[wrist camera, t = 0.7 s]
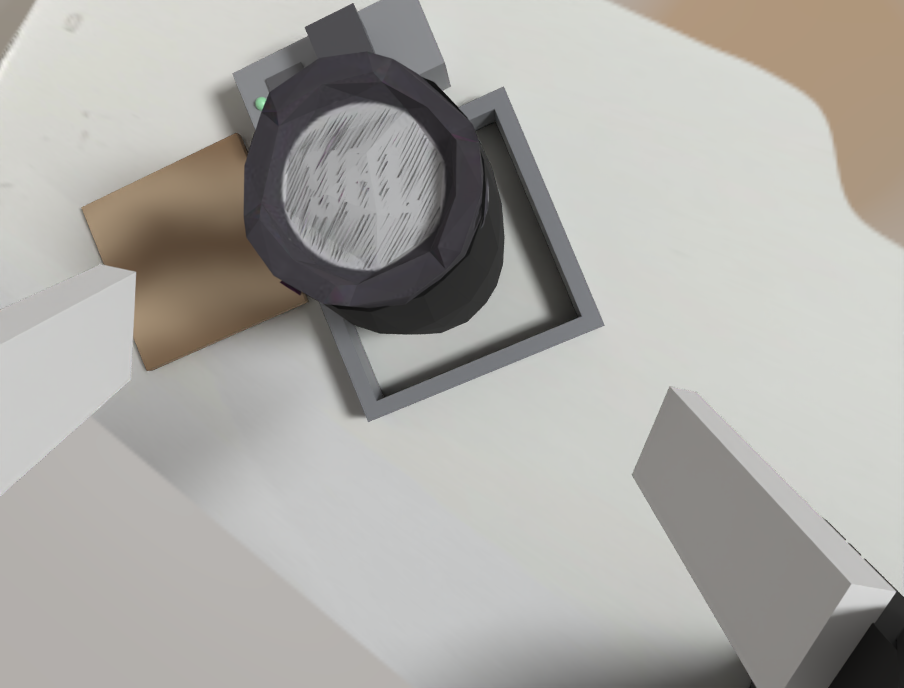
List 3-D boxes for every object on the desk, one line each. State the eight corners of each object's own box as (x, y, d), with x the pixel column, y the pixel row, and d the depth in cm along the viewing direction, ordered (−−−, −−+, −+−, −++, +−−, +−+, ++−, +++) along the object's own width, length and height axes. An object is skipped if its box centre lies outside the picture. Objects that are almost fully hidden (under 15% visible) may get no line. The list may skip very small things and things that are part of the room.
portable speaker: (399, 350, 37) (270, 369, 17) (356, 214, 37) (180, 82, 18) (526, 309, 36) (538, 281, 16) (481, 169, 36) (441, -22, 17)
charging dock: (599, 325, 35) (604, 325, 33) (376, 417, 37) (368, 422, 35) (485, 56, 36) (484, 40, 34) (269, 158, 37) (256, 148, 36)
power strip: (450, 86, 36) (439, 41, 31) (284, 164, 37) (244, 135, 32) (420, 15, 36) (404, -43, 31) (256, 95, 38) (211, 54, 32)
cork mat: (308, 301, 37) (305, 301, 37) (152, 370, 39) (146, 371, 38) (240, 135, 38) (236, 132, 37) (87, 209, 39) (81, 207, 38)
